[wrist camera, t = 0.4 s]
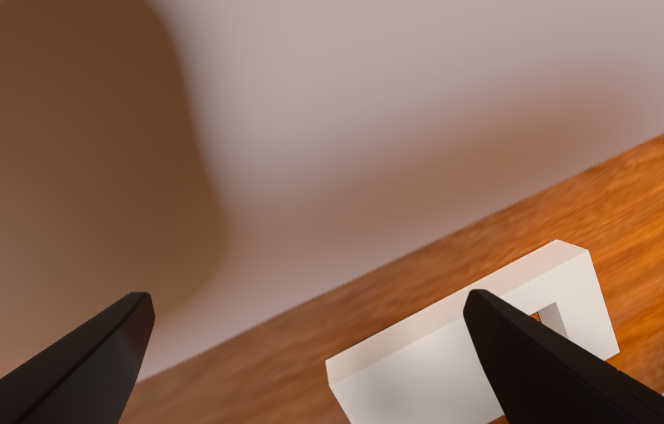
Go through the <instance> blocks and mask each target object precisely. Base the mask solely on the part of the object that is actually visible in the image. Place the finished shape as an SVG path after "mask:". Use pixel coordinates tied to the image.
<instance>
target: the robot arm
mask: <svg viewBox="0 0 664 424" xmlns="http://www.w3.org/2000/svg"><path fill="white" fill-rule="evenodd" d="M463 318H464V321H465V323H466V326H467V329H468V331H469V334H470V337H471V340H472V342H473V345H474V348H475V351H476V353H477V356H478V359H479V361H480V364H481V366H482V368H483V371H484V373H485V375H486V377H487V379H488V381H489V383H490V385H491V387H492V389H493V391H494V394H495V396H496V398H497V400H498V402H499V404H500V406H501V408H502V410H503V412H504V414H505V416H506V418H507V421H508V423H509V424H664V396H662V395H660V394H659V393H657V392H655V391H654V390H652V389H650V388H649V387H647V386H645V385H643V384H642V383H640V382H638V381H637V380H635V379H633V378H632V377H630V376H628V375H627V374H625V373H624V372H622V371H620V370H617V369H616V368H615V367H613V366H612V365H610V364H609V363H607V362H605V361H604V360H602V359H600V358H599V357H597V356H595V355H594V354H592V353H590V352H589V351H587V350H585V349H584V348H582V347H580V346H579V345H577V344H575V343H574V342H572V341H570V340H569V339H567V338H565V337H564V336H562V335H560V334H559V333H557V332H556V331H554V330H552V329H551V328H549V327H547V326H546V325H544V324H542V323H541V322H539V321H537V320H536V319H534V318H532V317H531V316H529V315H527V314H526V313H524V312H522V311H521V310H519V309H517V308H516V307H514V306H512V305H511V304H509V303H507V302H506V301H504V300H503V299H501V298H499V297H498V296H496V295H494V294H493V293H491V292H489V291H488V290H486V289H472V290H471V291H470V292H469V294H468V297H467V300H466V302H465V305H464V308H463ZM154 321H155V313H154V308H153V304H152V299H151V295H150V293H149V292H146V291H138V292H137V291H135V292H130V293H129V294H127V295H126V296H124V297H122V298H121V299H119V300H118V301H116V302H115V303H113V304H112V305H110V306H109V307H107V308H106V309H104V310H103V311H101V312H100V313H98V314H97V315H95V316H94V317H93V318H91V319H89V320H88V321H86V322H85V323H83V324H82V325H80V326H79V327H77V328H76V329H74V330H73V331H71V332H70V333H68V334H67V335H65V336H64V337H62V338H61V339H60V340H58V341H57V342H55V343H53V344H52V345H50V346H49V347H47V348H46V349H44V350H43V351H41V352H40V353H38V354H37V355H36V356H34V357H32V358H31V359H29V360H28V361H26V362H25V363H23V364H22V365H20V366H19V367H17V368H16V369H14V370H13V371H11V372H10V373H8V374H7V375H5V376H4V377H2V378H1V379H0V424H118V422H119V419H120V417H121V415H122V413H123V410H124V408H125V406H126V403H127V401H128V399H129V396H130V394H131V392H132V390H133V387H134V385H135V382H136V380H137V377H138V374H139V370H140V368H141V364H142V361H143V358H144V355H145V351H146V348H147V345H148V342H149V339H150V336H151V332H152V329H153V326H154Z"/></svg>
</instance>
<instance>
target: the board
mask: <svg viewBox="0 0 664 424" xmlns="http://www.w3.org/2000/svg"><path fill="white" fill-rule="evenodd" d="M472 289H486V290H488V291H489V292H491V293H493V294H494V295H496V296H498V297H499V298H501V299H503V300H504V301H506V302H507V303H509V304H511V305H512V306H514V307H516V308H517V309H519V310H521V311H522V312H524V313H526V314H527V315H531V314H533V313H535V312H537V311H538V314H539V317H540V319H541V322H542V324H544V325H546V326H547V327H549V328H551V329H552V330H554V331H556V332H557V333H559V334H560V335H562V336H564V337H565V338H567V339H569V340H570V341H572V342H574V343H575V344H577V345H579V346H580V347H582V348H584V349H585V350H587V351H589V352H590V353H592V354H594V355H595V356H597V357H599V358H600V359H602V360H606V359H608V358H610V357H612V356H614V355H615V354H617V353H619V352H620V351H619V348H618V345H617V341H616V338H615V335H614V332H613V328H612V325H611V322H610V319H609V315H608V312H607V309H606V306H605V302H604V299H603V296H602V293H601V290H600V286H599V283H598V280H597V277H596V273H595V270H594V267H593V264H592V260H591V257H590V254H589V251H588V250H587V249H584V248H581V247H578V246H575V245H572V244H569V243H566V242H563V241H560V240H557V239H556V240H554V241H552V242H550V243H549V244H547V245H545V246H543V247H541V248H539V249H537V250H535V251H533V252H531V253H529V254H528V255H526V256H524V257H522V258H520V259H518V260H516V261H514V262H512V263H510V264H509V265H507V266H505V267H503V268H501V269H499V270H497V271H495V272H493V273H491V274H490V275H488V276H486V277H484V278H482V279H480V280H478V281H476V282H474V283H472V284H471V285H469V286H467V287H465V288H463V289H461V290H459V291H457V292H455V293H453V294H451V295H450V296H448V297H446V298H444V299H442V300H440V301H438V302H436V303H434V304H432V305H431V306H429V307H427V308H425V309H423V310H421V311H419V312H417V313H415V314H413V315H412V316H410V317H408V318H406V319H404V320H402V321H400V322H398V323H396V324H394V325H392V326H391V327H389V328H387V329H385V330H383V331H381V332H379V333H377V334H375V335H373V336H372V337H370V338H368V339H366V340H364V341H362V342H360V343H358V344H356V345H354V346H353V347H351V348H349V349H347V350H345V351H343V352H341V353H339V354H337V355H335V356H334V357H332V358H330V359H328V360H326V361H325V362H326V368H327V374H328V380H329V386H330V388H331V390H332V392H333V393H334V395H335V397H336V398H337V400H338V402H339V403H340V405H341V407H342V409H343V410H344V412H345V414H346V415H347V417H348V419H349V420H350V422H351V424H487V423H489V422H491V421H493V420H495V419H497V418H499V417H500V416H502V415H504V412H503V410H502V408H501V406H500V404H499V402H498V400H497V398H496V396H495V394H494V391H493V389H492V387H491V385H490V383H489V381H488V379H487V377H486V375H485V373H484V371H483V368H482V366H481V364H480V361H479V359H478V356H477V353H476V351H475V348H474V345H473V342H472V340H471V337H470V334H469V331H468V329H467V326H466V323H465V321H464V318H463V308H464V305H465V302H466V300H467V297H468V294H469V292H470V291H471V290H472Z"/></svg>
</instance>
